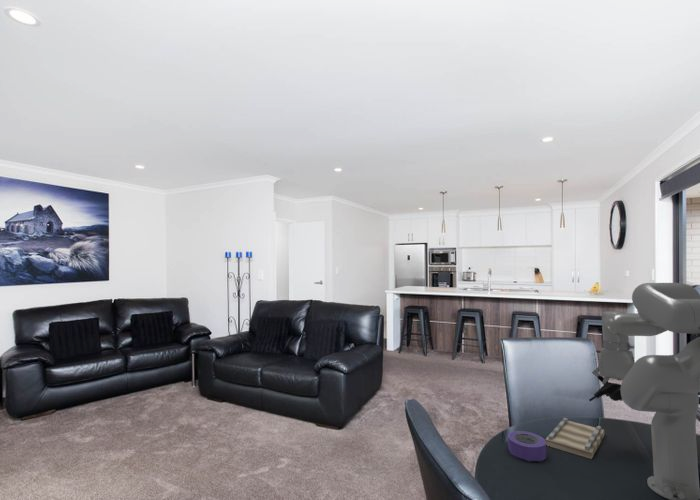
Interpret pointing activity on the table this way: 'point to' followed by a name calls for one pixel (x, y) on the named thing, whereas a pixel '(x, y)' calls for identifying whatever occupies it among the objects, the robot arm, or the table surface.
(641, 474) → the table surface
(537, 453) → the tape roll
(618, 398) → the black tapered curved piece
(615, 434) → the table surface
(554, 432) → the board
